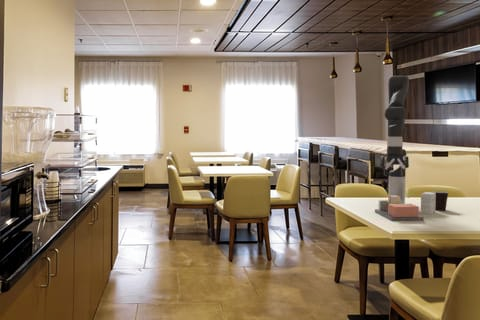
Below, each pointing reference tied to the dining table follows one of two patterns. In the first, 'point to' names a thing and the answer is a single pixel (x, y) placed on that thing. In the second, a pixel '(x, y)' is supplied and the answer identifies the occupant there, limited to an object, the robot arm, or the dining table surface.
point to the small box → (428, 202)
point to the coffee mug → (440, 200)
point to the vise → (384, 212)
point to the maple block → (393, 199)
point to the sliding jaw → (403, 210)
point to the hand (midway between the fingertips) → (394, 176)
